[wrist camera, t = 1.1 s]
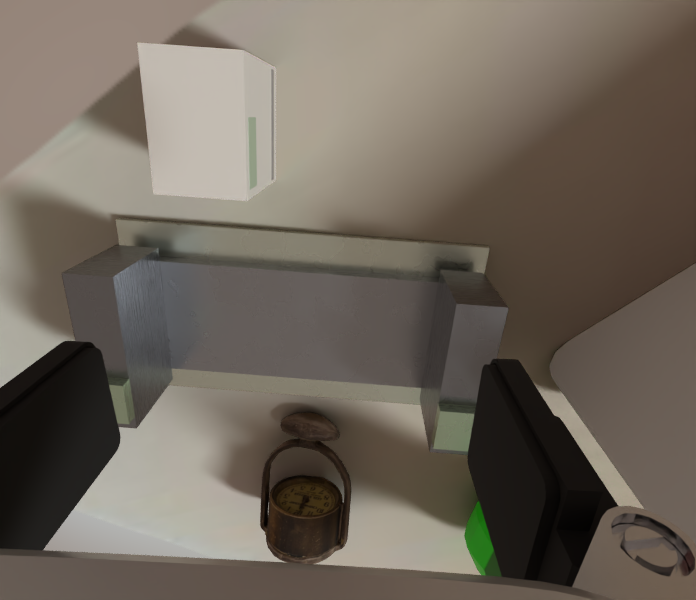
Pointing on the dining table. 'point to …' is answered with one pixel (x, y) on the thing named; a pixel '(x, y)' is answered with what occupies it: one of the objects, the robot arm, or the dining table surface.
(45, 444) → the robot arm
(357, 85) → the dining table surface
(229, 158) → the block
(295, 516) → the brown antique clock
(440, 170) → the dining table surface
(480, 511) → the plastic bottle
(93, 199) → the dining table surface
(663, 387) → the rounded white slab
